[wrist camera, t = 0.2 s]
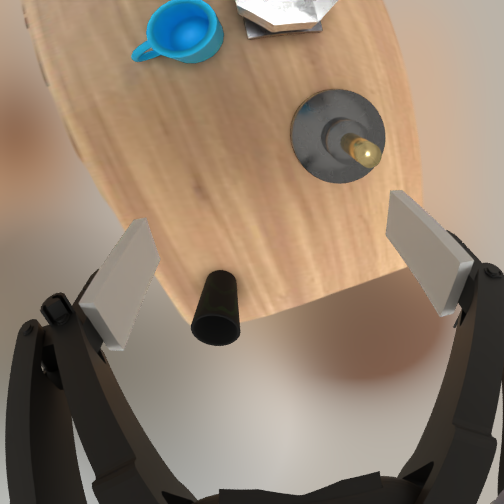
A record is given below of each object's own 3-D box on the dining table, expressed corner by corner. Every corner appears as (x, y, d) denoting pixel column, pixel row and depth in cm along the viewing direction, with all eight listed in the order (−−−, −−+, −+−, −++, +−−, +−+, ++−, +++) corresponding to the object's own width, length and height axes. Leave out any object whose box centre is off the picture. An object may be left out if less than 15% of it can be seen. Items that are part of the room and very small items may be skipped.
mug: (212, 5, 26) (203, -13, 19) (232, 50, 30) (227, 41, 23) (135, 40, 28) (110, 32, 21) (153, 83, 32) (131, 84, 26)
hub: (282, 94, 34) (296, 96, 23) (375, 87, 32) (420, 92, 22) (297, 185, 41) (314, 222, 31) (381, 173, 40) (420, 206, 30)
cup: (197, 291, 53) (187, 340, 43) (205, 260, 49) (195, 309, 39) (235, 301, 54) (233, 350, 44) (247, 271, 50) (246, 320, 40)
